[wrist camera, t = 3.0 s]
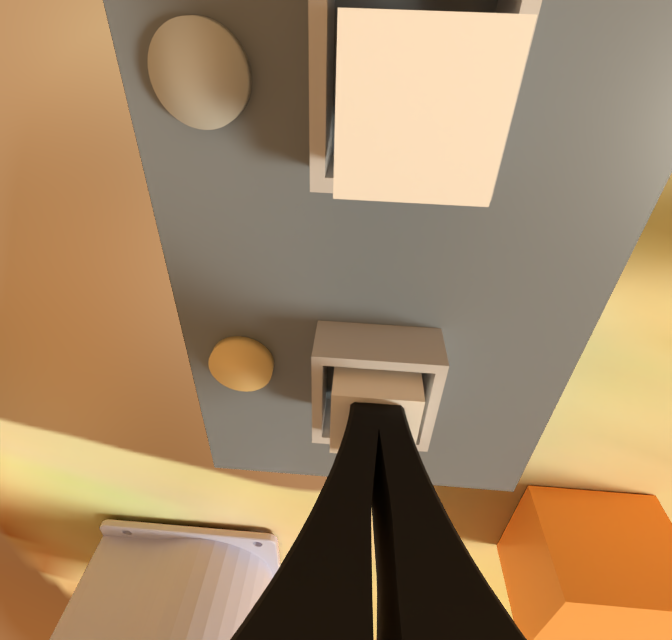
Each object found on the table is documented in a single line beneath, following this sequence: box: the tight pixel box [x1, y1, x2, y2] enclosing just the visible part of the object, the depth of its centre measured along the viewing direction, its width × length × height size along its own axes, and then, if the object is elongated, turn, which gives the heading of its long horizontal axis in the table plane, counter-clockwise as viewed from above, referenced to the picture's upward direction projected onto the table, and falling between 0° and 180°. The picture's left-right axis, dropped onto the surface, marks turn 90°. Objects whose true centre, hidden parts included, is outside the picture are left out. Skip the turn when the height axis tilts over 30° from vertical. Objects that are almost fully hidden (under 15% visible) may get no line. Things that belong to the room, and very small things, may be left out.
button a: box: [329, 367, 425, 453], centre depth 12 cm, size 2×2×2 cm
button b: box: [333, 8, 537, 207], centre depth 7 cm, size 2×2×2 cm
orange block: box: [497, 485, 672, 640], centre depth 18 cm, size 5×5×4 cm
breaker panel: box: [103, 0, 672, 492], centre depth 11 cm, size 12×20×3 cm, turn 178°
